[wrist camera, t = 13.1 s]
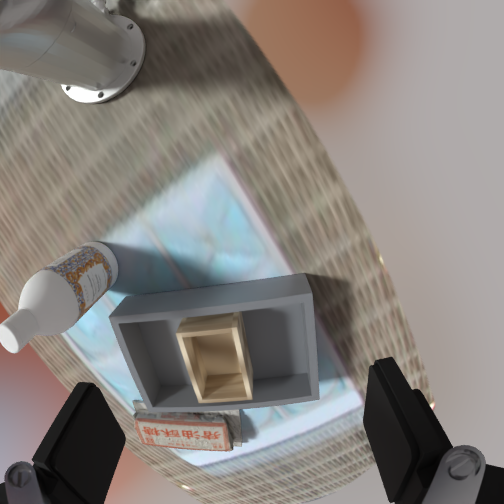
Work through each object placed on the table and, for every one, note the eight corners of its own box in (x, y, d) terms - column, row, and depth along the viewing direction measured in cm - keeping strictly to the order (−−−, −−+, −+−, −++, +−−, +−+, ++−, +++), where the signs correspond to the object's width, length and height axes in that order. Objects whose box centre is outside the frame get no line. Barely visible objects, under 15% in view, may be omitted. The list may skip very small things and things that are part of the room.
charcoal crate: (125, 296, 41) (108, 316, 35) (304, 272, 39) (312, 292, 34) (158, 386, 45) (148, 412, 40) (313, 372, 44) (319, 399, 38)
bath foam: (123, 289, 40) (46, 378, 21) (81, 287, 41) (-3, 365, 21) (116, 239, 38) (21, 307, 19) (73, 240, 39) (-26, 300, 19)
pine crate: (186, 309, 40) (175, 333, 34) (239, 303, 40) (236, 327, 34) (205, 375, 43) (199, 403, 37) (253, 371, 43) (252, 399, 37)
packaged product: (140, 452, 45) (125, 416, 42) (147, 433, 50) (133, 397, 47) (241, 460, 45) (238, 424, 42) (242, 440, 49) (239, 403, 47)
